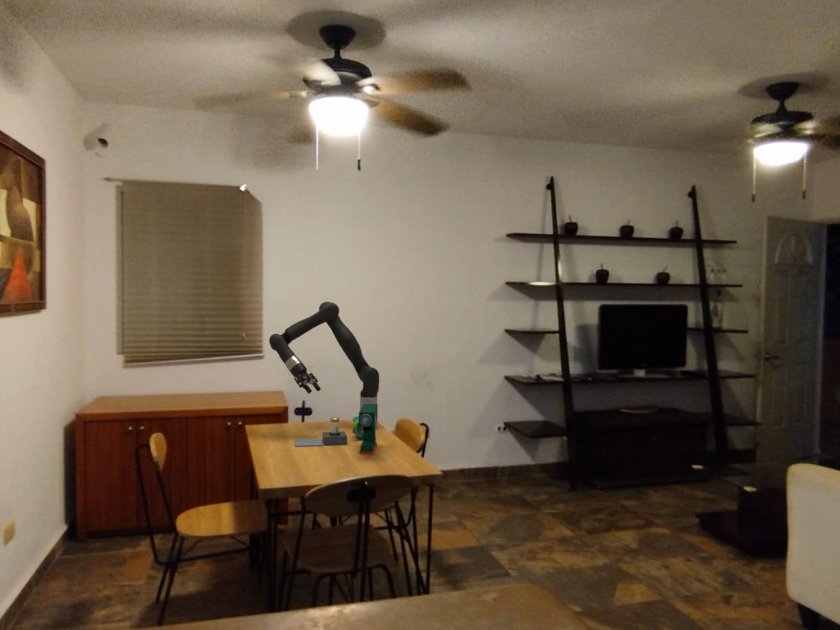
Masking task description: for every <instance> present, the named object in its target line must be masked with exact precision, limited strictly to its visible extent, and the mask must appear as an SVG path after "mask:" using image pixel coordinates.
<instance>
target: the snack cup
mask: <svg viewBox="0 0 840 630" xmlns="http://www.w3.org/2000/svg"><path fill="white" fill-rule="evenodd" d="M352 422H353V425H352V426H353V428H352V433H353V435H355V438H357V439H360V440H363V427H359V415H357V416H354V417H352Z"/></svg>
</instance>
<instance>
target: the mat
mask: <svg viewBox="0 0 840 630" xmlns="http://www.w3.org/2000/svg"><path fill="white" fill-rule="evenodd" d="M294 446H295V448H300V447H301V448H302V447H306V448H309V447H324V444H323V440H322V438H320V437H319V438H295V439H294Z"/></svg>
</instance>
